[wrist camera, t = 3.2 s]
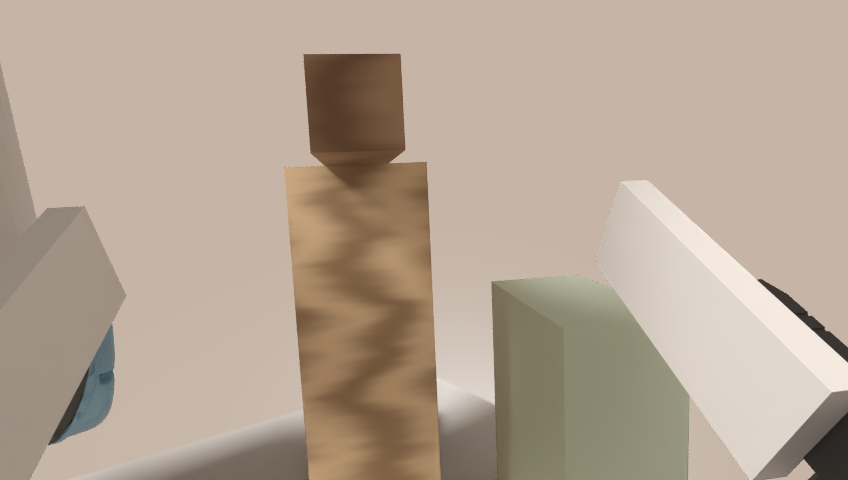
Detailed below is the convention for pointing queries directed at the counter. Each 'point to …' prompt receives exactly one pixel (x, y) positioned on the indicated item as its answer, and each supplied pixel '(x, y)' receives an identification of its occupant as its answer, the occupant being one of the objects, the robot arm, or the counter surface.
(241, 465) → the counter surface
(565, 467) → the sage green upright block
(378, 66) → the beam
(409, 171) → the oak stand
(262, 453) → the counter surface
